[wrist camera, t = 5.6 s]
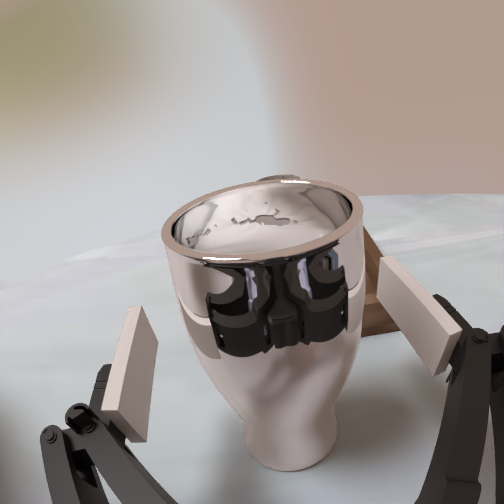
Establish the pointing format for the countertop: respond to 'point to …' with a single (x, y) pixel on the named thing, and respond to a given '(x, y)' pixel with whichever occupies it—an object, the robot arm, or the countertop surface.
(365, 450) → the countertop surface
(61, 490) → the robot arm
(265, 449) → the beer glass
